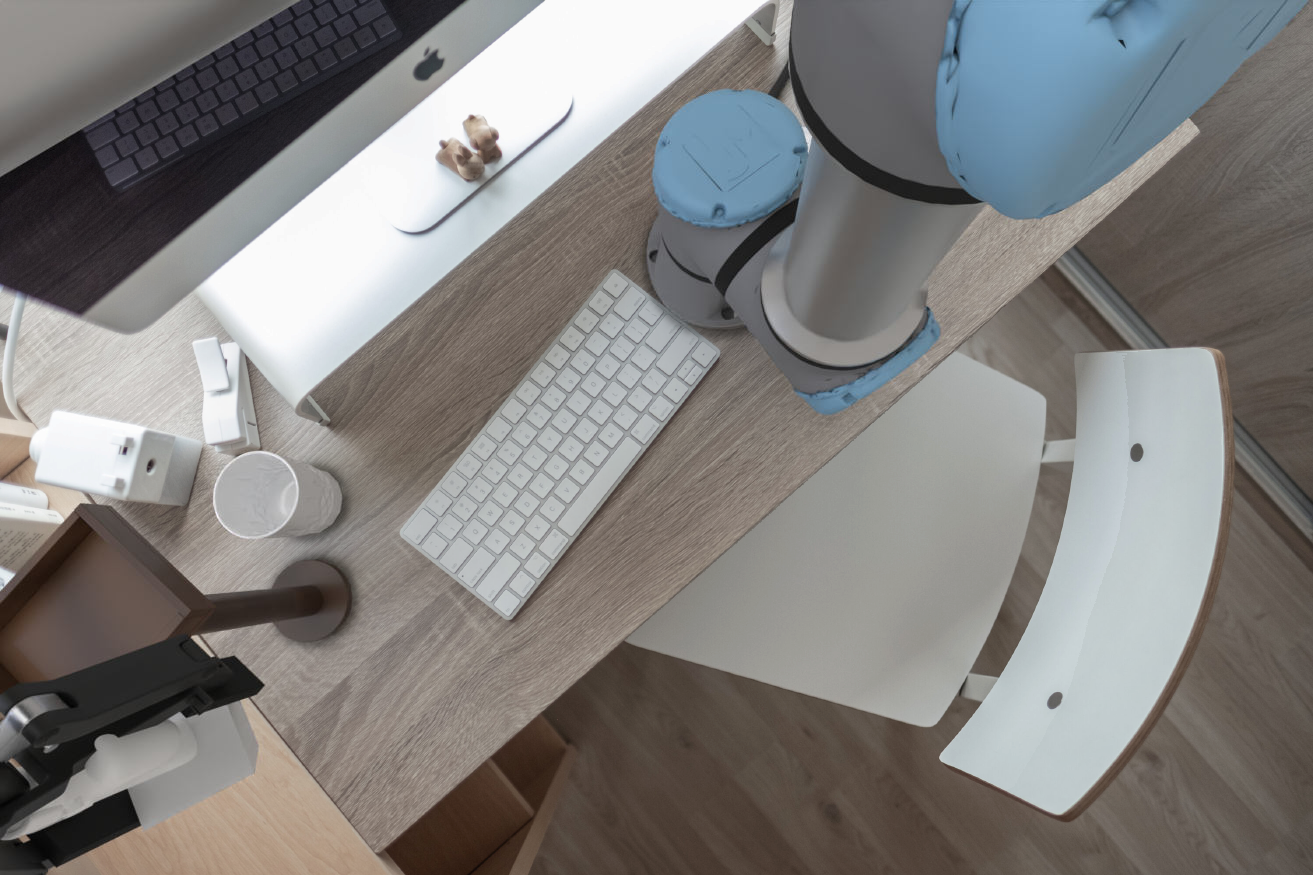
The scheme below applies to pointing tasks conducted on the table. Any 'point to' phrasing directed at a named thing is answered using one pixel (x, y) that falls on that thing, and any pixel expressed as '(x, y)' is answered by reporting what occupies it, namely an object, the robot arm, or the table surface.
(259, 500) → the white cup
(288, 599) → the walnut post
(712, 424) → the table surface
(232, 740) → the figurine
